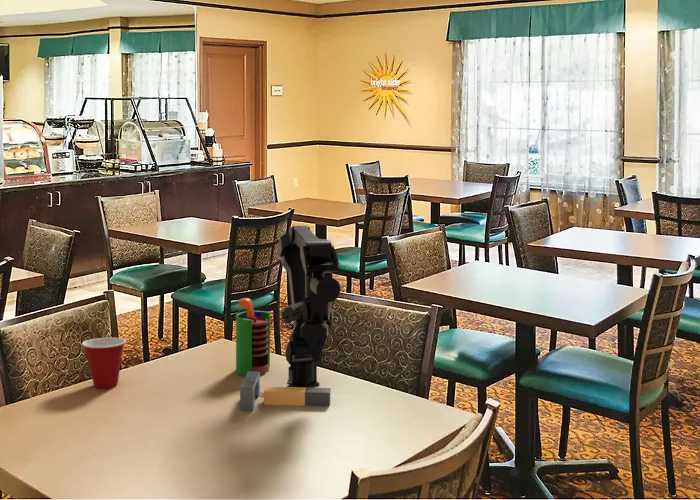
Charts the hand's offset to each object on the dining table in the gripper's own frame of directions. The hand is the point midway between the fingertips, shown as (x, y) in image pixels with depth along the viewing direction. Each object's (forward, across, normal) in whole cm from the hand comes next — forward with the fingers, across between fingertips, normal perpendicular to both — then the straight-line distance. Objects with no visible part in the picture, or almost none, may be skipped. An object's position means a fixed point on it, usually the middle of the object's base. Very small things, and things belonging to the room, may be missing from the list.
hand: (317, 355), depth 189 cm
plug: (+12, 0, -5) cm, 13 cm away
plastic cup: (+12, -9, -56) cm, 58 cm away
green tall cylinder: (+12, -23, -20) cm, 33 cm away
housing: (+12, 0, -16) cm, 20 cm away
